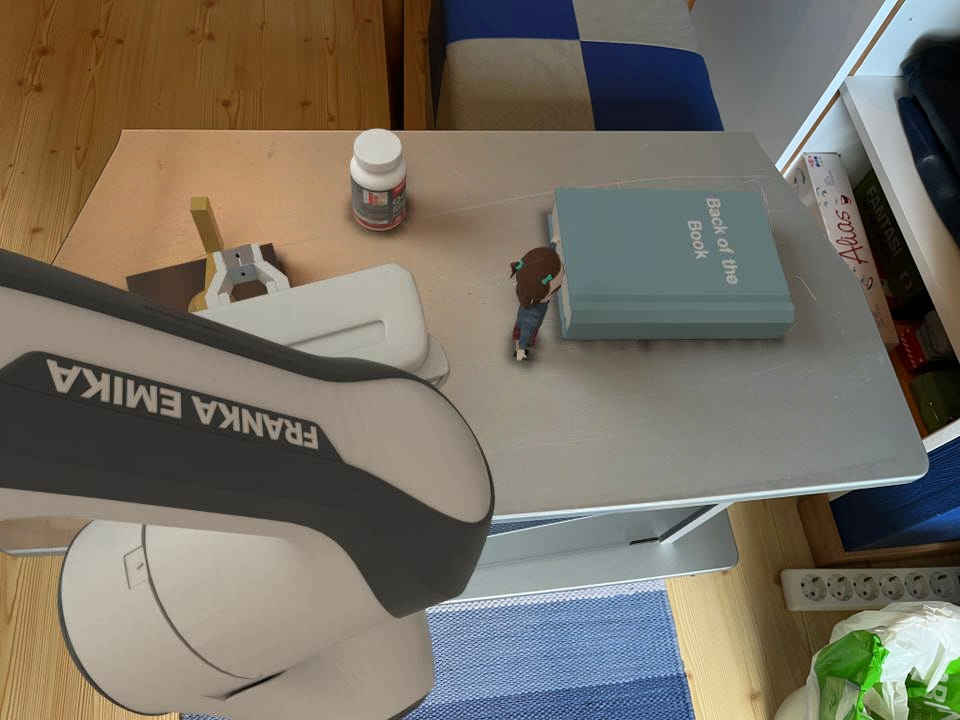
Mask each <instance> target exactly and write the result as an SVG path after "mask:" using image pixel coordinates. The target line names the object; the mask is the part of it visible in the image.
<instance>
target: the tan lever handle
mask: <svg viewBox="0 0 960 720" xmlns="http://www.w3.org/2000/svg"><path fill="white" fill-rule="evenodd" d="M189 202H190V203H189V211H190V214H191V216H192V220H193V222H194V225H195V227H196V230H197V233H198V235H199V237H200V240H201V243H202V246H203V248H204V251H205V253H206V258H207V264H206V278H205V291H204V292H202V293H201V294H199V295H198V297H197V299H196V302H195V304H196V308H197V310H198V311H201V310H205V309H208V307H207V303H206V299H205V296H206V293H207V291H208V289H209V287H210V284H211V282H212V280H213V278H214V275H215V273H217V268H216V264H215V260H214V257H213V253H214V252H218V251H223V250H225V243H224V240H223V237H222V234H221V232H220V227H219V225H218V222H217V220H216V217H215V214H214V210H213V208H212V205H211V202H210V198H209V197H208V196H191V197H190V201H189Z"/></svg>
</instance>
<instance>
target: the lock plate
mask: <svg viewBox="0 0 960 720" xmlns="http://www.w3.org/2000/svg"><path fill="white" fill-rule="evenodd" d="M259 247H260V250H261V254H262V257H263V260H264V261H267V262H268V263H269V264H271V265H272V266H273V267H275V268H276V269H277V270H279V271H280V272H281V273H282V269H281V267H280V263H279V261H278V257H277V253H276V250H275V247H274V244H273V242H268V243H265V244H264V243H263V244H259ZM206 264H207V257H204V258H199V259H196V260H191V261H186V262H182V263H178V264H174V265H169V266H165V267H161V268H156V269H153V270H147V271H144V272H139V273H135V274H131V275H127V276H125V283H126V288H127V291H129V292H132V293H135V294H138V295H140V296H143V297H146V298H149V299H152V300H155V301H158V302H161V303H163V304H166V305H169V306H172V307H175V308H178V309H181V310H184V311H186V312H189V313H193V312H197V311H198V310H197V308H196V304H195V302H196V299H197V297H198V295H199V294H201V293H202V292H204V291H205V278H206ZM265 294H268V290H267V287H266V286H265V285H264V284H263V283H262V282H261V281H259V280H258V279H256V280H252V281H247V282H243V283H240V284H236V285H233V289H232V292H231V295H230V300H231V303H233V302H237V301H241V300H245V299H249V298H253V297H257V296H261V295H265Z"/></svg>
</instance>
